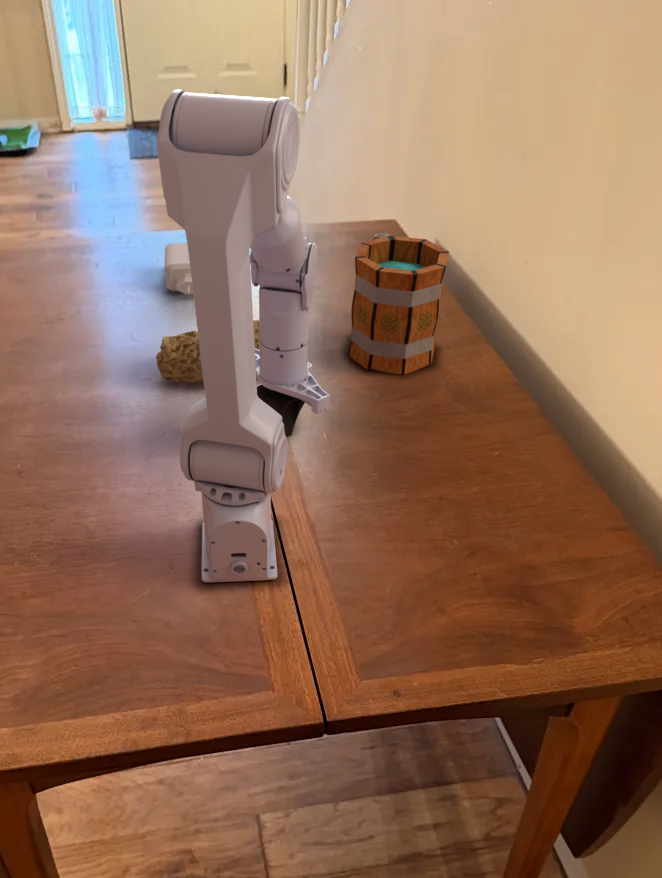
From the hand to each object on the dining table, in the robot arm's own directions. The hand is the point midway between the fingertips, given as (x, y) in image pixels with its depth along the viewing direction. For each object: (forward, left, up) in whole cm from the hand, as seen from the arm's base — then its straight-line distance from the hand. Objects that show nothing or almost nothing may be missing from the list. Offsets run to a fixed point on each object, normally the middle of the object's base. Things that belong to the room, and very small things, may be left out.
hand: (282, 435), depth 100 cm
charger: (+46, +12, -1) cm, 48 cm away
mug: (+25, -18, -1) cm, 31 cm away
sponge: (+18, +6, -1) cm, 20 cm away
